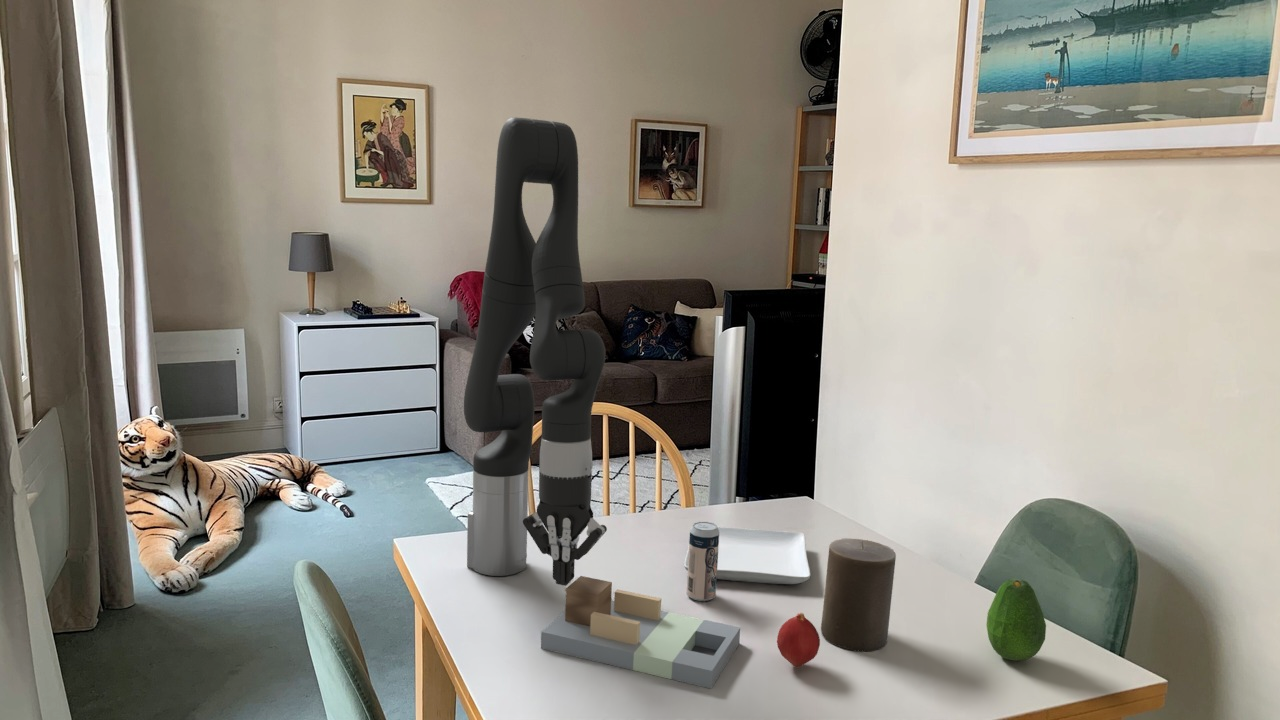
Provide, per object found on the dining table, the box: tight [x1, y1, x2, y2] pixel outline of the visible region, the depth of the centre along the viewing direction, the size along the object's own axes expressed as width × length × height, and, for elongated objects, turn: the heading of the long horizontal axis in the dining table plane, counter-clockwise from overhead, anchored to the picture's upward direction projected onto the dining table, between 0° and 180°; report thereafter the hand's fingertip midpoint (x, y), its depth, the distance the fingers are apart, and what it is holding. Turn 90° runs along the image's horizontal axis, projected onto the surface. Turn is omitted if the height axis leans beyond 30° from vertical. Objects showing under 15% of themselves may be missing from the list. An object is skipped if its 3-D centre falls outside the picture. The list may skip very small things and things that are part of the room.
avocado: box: [986, 577, 1047, 662], centre depth 131 cm, size 8×8×12 cm
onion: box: [776, 612, 821, 668], centre depth 127 cm, size 6×6×8 cm
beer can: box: [686, 521, 720, 602], centre depth 148 cm, size 5×5×12 cm
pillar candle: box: [820, 537, 897, 652], centre depth 136 cm, size 10×10×15 cm
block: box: [564, 575, 613, 626], centre depth 134 cm, size 5×5×5 cm
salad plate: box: [683, 526, 811, 585], centre depth 163 cm, size 21×21×3 cm
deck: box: [540, 589, 741, 689], centre depth 131 cm, size 25×14×6 cm, turn 69°
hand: (563, 583), depth 135 cm, fingers closed
